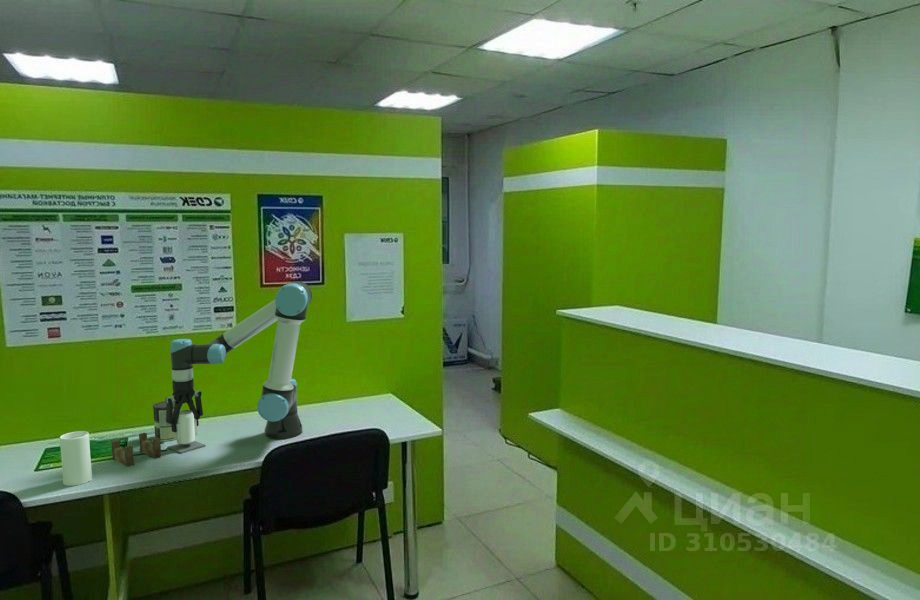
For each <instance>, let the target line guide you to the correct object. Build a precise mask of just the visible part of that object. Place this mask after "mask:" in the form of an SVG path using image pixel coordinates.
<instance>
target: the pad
mask: <svg viewBox="0 0 920 600" xmlns="http://www.w3.org/2000/svg"><path fill="white" fill-rule="evenodd" d="M205 447H206V444H204V443H202V442H199V441H197V440H195V441H194V442H193V443H190V444H178V443H175V444H172V445H169V446H167V447H166V448H167V449H168V450H171V451H174V452H175V453H178V454H185V453H188V452H191V451H195V450H197V449H201V448H205Z"/></svg>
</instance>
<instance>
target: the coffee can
mask: <svg viewBox="0 0 920 600" xmlns="http://www.w3.org/2000/svg"><path fill="white" fill-rule="evenodd" d="M172 403H173V411H174V407H175V400H173V402H172ZM152 408H153V423H154V424H153V425H154V438H160V442H171V441H176V440H175V439H174V432H172V425H171V424H169V423H166V401H165V400H164V401H159V402H157V403H154V404H152ZM180 411H182V409H180Z"/></svg>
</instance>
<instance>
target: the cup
mask: <svg viewBox="0 0 920 600" xmlns="http://www.w3.org/2000/svg"><path fill="white" fill-rule="evenodd" d="M59 445H60V458H61V459H60V460H61V469H62V471H61V472H62V485H64V486H68V487H73V486H74V487H75V486H80V484H81V485H84V484H86V482H87V483H89V482H90V481H92V479H93V473H92V461H91V460H92V459H91V446H90V433H89V431H85V430H79V431H77V430H76V431H72V432H71V431H70V432H67V433H64V434H62V435H60V436H59ZM88 481H89V482H88Z"/></svg>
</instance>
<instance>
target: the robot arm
mask: <svg viewBox="0 0 920 600" xmlns="http://www.w3.org/2000/svg"><path fill="white" fill-rule="evenodd" d="M312 300H313V291H312V289H311V288H310V286H309V285H308V284H306V283H305V282H303V281H296V280H295V281H292V282H290V283H286V284H284V285H283V286H281V287H280V288H279V289H278V291H277V293H276V294H275V298H274V299H273V300H272V301H270V302H269V303H268V304H266V305H264V306H262V307H261V308H260V309H258V310H257V311H255V312H254V313H252V314H251V315H249V316H248V317H246V318H245V319H243V320H242V321H240V322H238V323H236V325H234V326H233V327H231V328H230V329H228V330H227V331H225V332H224V333H221V334H220V335H219V336H217V337H216V338H214V339H212V340H211V341H209V342H208V343H206V344H193V341H192V340H191V339H189V338H178V339H174V340H172V341H171V342H170V352H169V353H170V362H171V379H172V381H171V382H172V385H171V386H172V395H171V396H169V397H164V398H165V399H164V401H166V423H169V424H171V425H172V432H174V439H175V440H174V441H177V440H178V441H179V440H180V432H179V424H178V423H177V421H178V417H179V413H180V409H181V408H182V407H183V405H184V404H185V403H186V404H187V406H188V408H189V409H188V410H192V411H193V412H192V413H193V414H194V426H195V437H196V436H198V427H199V419H200V418H201V417H202V416H203V415H204V410H203V405H202V391H200V390H195V381H194V365H203V364H204V365H217V364H223V363H224V362H225V360H226V356H227V355H228V353H230V352H231V351H233V350H234V349H236V348H237V347H239V346H240V345H242V344H243V343H245V342H246V341H248V340H250V339H251V338H253V337H254V336H255V335H257V334H259V333H260V332H261V331H263V330H265V329H266V328H268V327H269V326H271V325H273V324H274V323H275V322H277V324H276V331H275V337H274V342H273V349H272V354H271V355H272V356H271V360H270V367H269V373H268V378H267V380H266V381H264V382H263V383H262V388H261V389H262V390H261V394H260V395H261V396H260V397H259V399H258V402H257V404H256V405H257V407H256V409H257V412H258V414H259V416H260V417H261V418H262V419H263V420H265V421H266V425H265V428H264V436H265V437H266V438H269V439H275V440H276V439H277V440H281V439H289V438H291V439H292V438H294V437H297V436H299V435H301V434H302V433H303V424H302V422H301V419H300V416H299V413H298V389H297V388H298V383H297V381H296V379H294V378H292V376H293V371H294V365H295V359H296V353H297V348H298V341H299V335H300V330H301V324H302V323H303V322H305V321H306V318H307V313H308V307H309V306H310V304H311V303H312ZM193 398H194V400H193ZM173 401H175V407H174V411H173V403H172V402H173ZM181 410H182V409H181Z"/></svg>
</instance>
